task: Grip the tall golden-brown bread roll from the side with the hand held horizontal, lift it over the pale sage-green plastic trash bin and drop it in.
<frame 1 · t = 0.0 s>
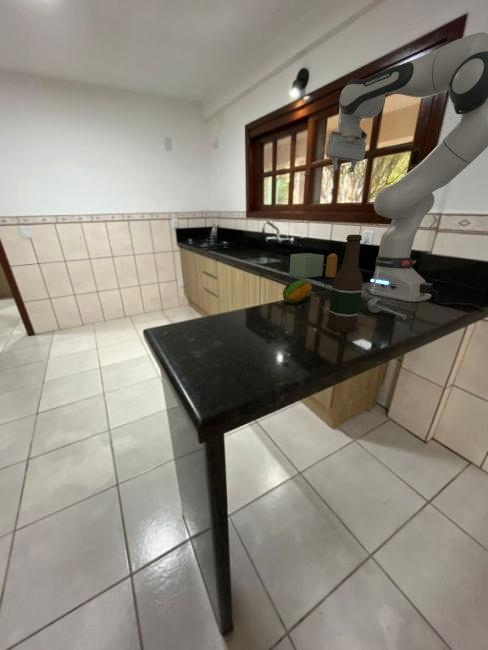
hand: (343, 171, 116), 48 cm above the worktop, tool pointing down, fingers open, 8 cm apart
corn: (298, 300, 97), on the worktop
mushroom: (384, 315, 82), on the worktop
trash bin: (305, 275, 144), on the worktop
beer bottle: (341, 327, 72), on the worktop
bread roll: (330, 276, 140), on the worktop
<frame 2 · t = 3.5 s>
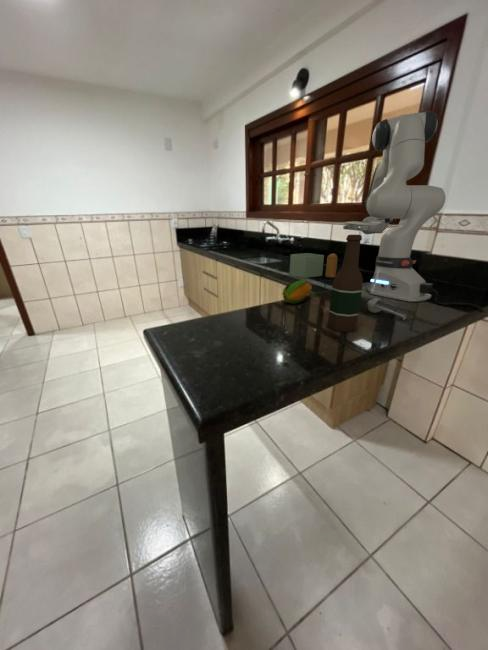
hand: (351, 228, 135), 24 cm above the worktop, tool horizontal, fingers open, 8 cm apart
nothing on the worktop moved.
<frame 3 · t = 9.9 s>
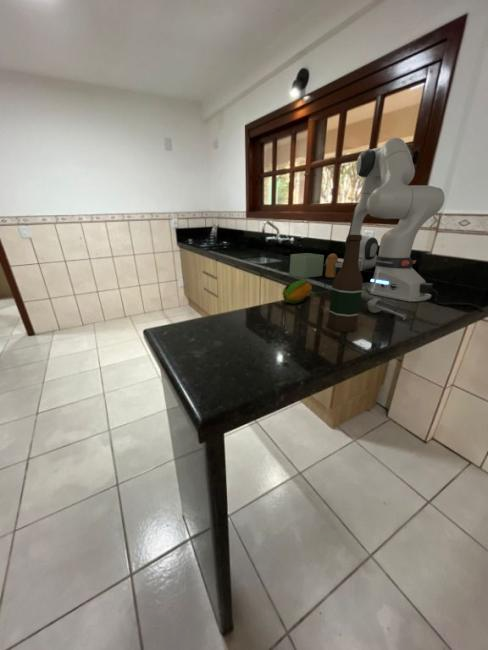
hand: (330, 264, 137), 6 cm above the worktop, tool horizontal, fingers closed on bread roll, 5 cm apart
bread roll: (330, 276, 140), on the worktop, touching gripper
everything else where it was.
when the fingers open (15 cm above the worktop, at t = 16.2 s): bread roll drops 8 cm, resting on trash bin.
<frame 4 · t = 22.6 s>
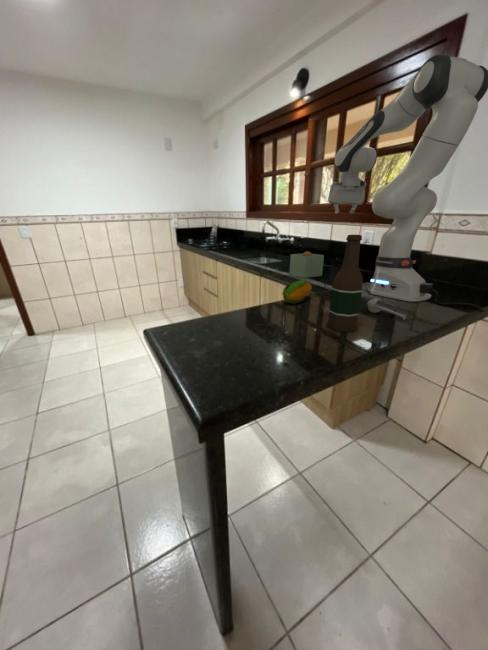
hand: (344, 213, 133), 31 cm above the worktop, tool pointing down, fingers open, 8 cm apart
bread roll: (305, 273, 143), point 1 cm above the worktop, touching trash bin
everything else where it was.
at the end: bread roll inside the target area in the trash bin (0.0 cm from its centre), point 0.8 cm above the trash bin's base; the gripper is holding nothing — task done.
